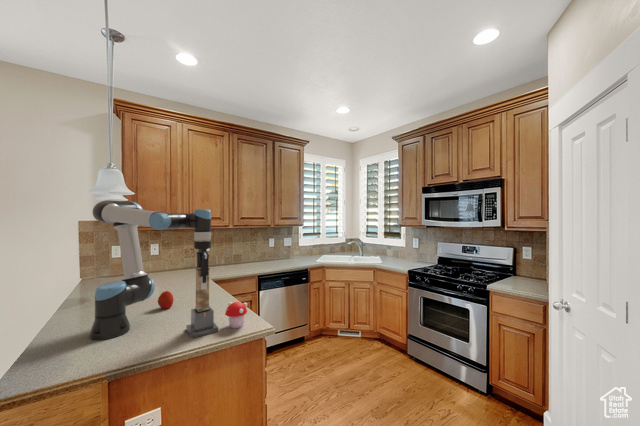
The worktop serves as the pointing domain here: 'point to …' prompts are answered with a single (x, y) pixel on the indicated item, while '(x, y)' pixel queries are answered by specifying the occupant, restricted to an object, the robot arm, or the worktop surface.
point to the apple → (165, 300)
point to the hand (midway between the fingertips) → (202, 287)
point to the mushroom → (236, 314)
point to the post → (201, 293)
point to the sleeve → (201, 323)
